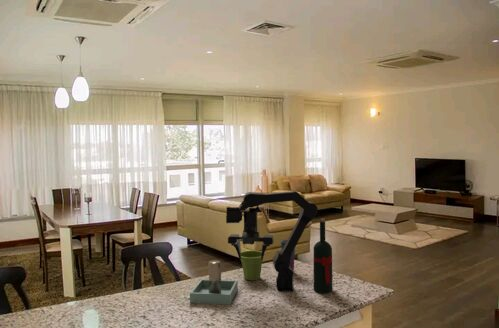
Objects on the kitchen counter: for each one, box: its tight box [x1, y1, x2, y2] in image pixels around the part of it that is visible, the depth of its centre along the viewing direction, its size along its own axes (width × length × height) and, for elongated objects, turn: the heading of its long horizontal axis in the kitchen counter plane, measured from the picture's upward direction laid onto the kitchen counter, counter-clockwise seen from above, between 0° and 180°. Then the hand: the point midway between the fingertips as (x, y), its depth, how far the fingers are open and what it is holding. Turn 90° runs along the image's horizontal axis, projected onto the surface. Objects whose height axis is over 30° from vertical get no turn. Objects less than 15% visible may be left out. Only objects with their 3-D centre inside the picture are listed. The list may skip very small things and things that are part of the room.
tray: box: [189, 279, 239, 305], centre depth 164 cm, size 16×16×4 cm
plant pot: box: [240, 250, 266, 281], centre depth 185 cm, size 12×12×11 cm
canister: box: [208, 260, 222, 294], centre depth 164 cm, size 5×5×13 cm
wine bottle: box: [313, 218, 333, 295], centre depth 166 cm, size 8×10×30 cm
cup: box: [280, 239, 296, 272], centre depth 192 cm, size 7×7×15 cm
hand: (251, 259), depth 169 cm, fingers open, 9 cm apart
